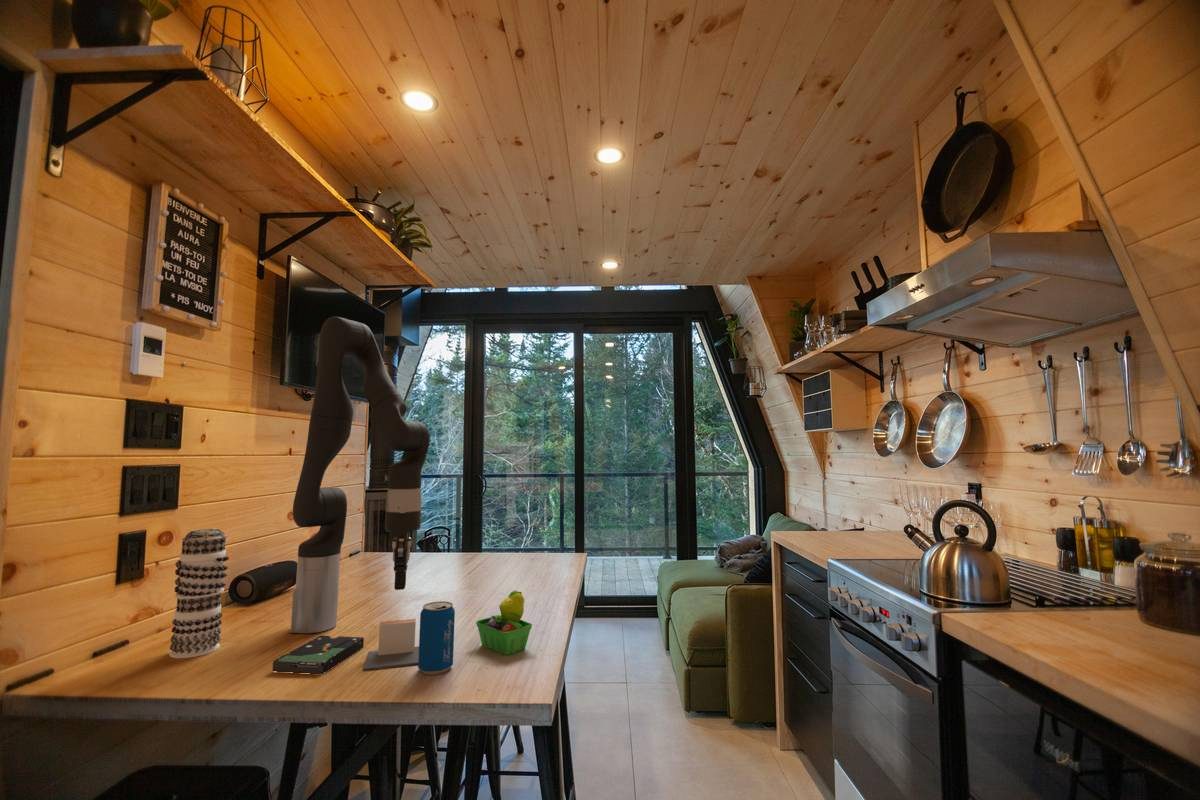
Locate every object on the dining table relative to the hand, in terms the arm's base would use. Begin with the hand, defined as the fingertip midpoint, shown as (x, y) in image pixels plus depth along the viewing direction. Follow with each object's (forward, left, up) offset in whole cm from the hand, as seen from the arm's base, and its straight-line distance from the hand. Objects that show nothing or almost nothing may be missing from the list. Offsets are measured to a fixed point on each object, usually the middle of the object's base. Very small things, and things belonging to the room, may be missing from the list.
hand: (400, 587), depth 115 cm
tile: (0, -6, -12) cm, 13 cm away
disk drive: (-14, -4, -13) cm, 20 cm away
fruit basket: (+22, -8, -12) cm, 27 cm away
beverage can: (+8, -17, -12) cm, 22 cm away
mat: (0, -9, -12) cm, 15 cm away
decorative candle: (-40, +9, -12) cm, 43 cm away
